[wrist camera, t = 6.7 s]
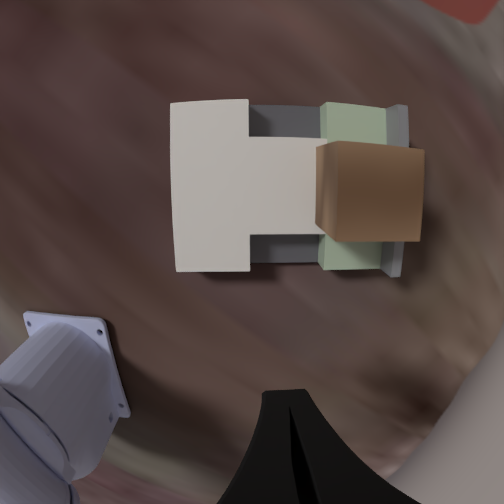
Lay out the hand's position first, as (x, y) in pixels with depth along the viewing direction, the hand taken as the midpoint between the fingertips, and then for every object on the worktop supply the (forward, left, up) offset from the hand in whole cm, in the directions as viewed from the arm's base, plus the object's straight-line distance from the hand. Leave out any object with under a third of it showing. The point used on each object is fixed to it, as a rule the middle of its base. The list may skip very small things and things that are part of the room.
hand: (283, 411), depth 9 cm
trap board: (+6, -1, -10) cm, 12 cm away
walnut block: (+6, -4, -8) cm, 11 cm away
